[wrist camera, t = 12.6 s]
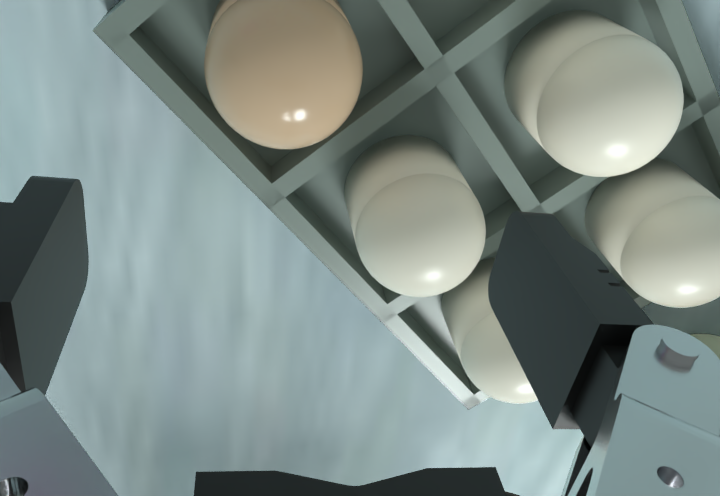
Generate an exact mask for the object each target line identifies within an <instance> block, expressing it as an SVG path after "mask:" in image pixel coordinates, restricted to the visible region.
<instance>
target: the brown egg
mask: <svg viewBox="0 0 720 496" xmlns="http://www.w3.org/2000/svg"><path fill="white" fill-rule="evenodd" d="M204 72H205V80H206V85H207V89H208V92H209V95H210V97H211V99H212V101H213V104H214V106H215V108H216V109H217V111H218V112H219V114H220V115H221V117H222V118H223V119H224V120H225V121H226V123H227V124H228V125H229V126H230V127H231V128H233V129H234V130H235V131H236V132H237V133H239V134H240V135H242V136H243V137H244V138H246V139H248V140H250V141H252V142H254V143H256V144H259V145H261V146H265V147H269V148H274V149H298V148H303V147H307V146H310V145H313V144H316V143H318V142H320V141H322V140H324V139H325V138H327V137H328V136H330V135H331V134H333V133H334V132H335V131H336V130H337V129H338V128H339V127H340V126H341V125H342V124H343V123H344V122H345V120H346V119H347V118H348V116H349V115H350V113H351V112H352V110H353V108H354V106H355V104H356V102H357V99H358V96H359V93H360V89H361V84H362V75H363V65H362V57H361V51H360V47H359V44H358V41H357V38H356V36H355V34H354V32H353V30H352V28H351V26H350V24H349V22H348V20H347V18H346V16H345V14H344V12H343V10H342V8H341V6H340V4H339V2H338V1H337V0H220V1H219V3H218V5H217V7H216V10H215V12H214V15H213V19H212V24H211V28H210V32H209V36H208V41H207V45H206V50H205V58H204Z"/></svg>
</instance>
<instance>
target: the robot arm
mask: <svg viewBox="0 0 720 496" xmlns="http://www.w3.org/2000/svg"><path fill="white" fill-rule="evenodd" d="M87 276H88V245H87V234H86V222H85V210H84V198H83V189H82V185H81V182H80V180H78V179H69V178H55V177H41V176H31V177H30V178H29V180H28V181H27V183H26V184H25V186H24V187H23V189H22V190H21V192H20V193H19V195H18V196H17V198H16V199H15V201H14V202H13V203H6V202H0V496H118V495H117V493H116V492H115V491H114V489H113V488H112V487H111V485H110V484H109V482H108V481H107V480H106V478H105V477H104V476H103V474H102V473H101V472H100V470H99V469H98V468H97V466H96V465H95V463H94V462H93V461H92V459H91V458H90V457H89V455H88V454H87V453H86V451H85V450H84V448H83V447H82V446H81V444H80V443H79V442H78V440H77V439H76V438H75V436H74V435H73V434H72V432H71V431H70V429H69V428H68V427H67V425H66V424H65V423H64V421H63V420H62V419H61V417H60V416H59V415H58V413H57V412H56V410H55V409H54V408H53V406H52V405H51V404H50V402H49V401H48V400H47V398H46V397H45V394H46V391H47V388H48V386H49V383H50V380H51V378H52V375H53V372H54V370H55V367H56V364H57V362H58V359H59V356H60V354H61V351H62V349H63V346H64V343H65V341H66V338H67V335H68V333H69V330H70V327H71V325H72V322H73V319H74V317H75V314H76V311H77V309H78V306H79V303H80V301H81V298H82V295H83V293H84V290H85V287H86V282H87ZM488 297H489V302H490V305H491V308H492V310H493V312H494V314H495V316H496V318H497V320H498V322H499V324H500V326H501V328H502V329H503V331H504V333H505V335H506V337H507V339H508V341H509V343H510V345H511V347H512V349H513V351H514V353H515V355H516V357H517V359H518V361H519V363H520V365H521V367H522V369H523V371H524V373H525V375H526V377H527V379H528V381H529V383H530V385H531V387H532V389H533V391H534V393H535V395H536V397H537V399H538V401H539V403H540V405H541V407H542V409H543V411H544V413H545V415H546V417H547V419H548V420H549V422H550V424H551V426H552V428H553V429H581V431H582V433H583V437H582V439H581V441H580V443H579V445H578V447H577V450H576V452H575V455H574V459H573V462H572V465H571V468H570V471H569V474H568V477H567V480H566V483H565V486H564V489H563V492H562V495H561V496H720V360H719V358H718V357H717V355H716V354H715V353H714V352H713V351H712V350H711V349H710V348H709V347H708V346H706V345H705V344H704V343H702V342H701V341H699V340H698V339H696V338H695V337H693V336H691V335H689V334H687V333H685V332H683V331H680V330H677V329H675V328H671V327H667V326H662V325H654V324H653V323H652V321H651V320H650V319H649V318H648V317H647V315H646V314H645V313H644V312H643V311H642V309H641V308H640V307H639V306H638V304H637V303H636V302H635V301H634V300H633V298H632V297H631V296H630V295H629V294H628V292H627V291H626V290H625V289H624V287H620V283H619V281H618V280H617V279H616V278H615V276H614V275H613V274H612V273H609V269H608V268H607V267H606V266H605V264H604V263H603V262H602V261H601V259H600V258H599V257H598V256H597V255H596V254H595V253H594V252H592V251H591V250H590V249H588V248H587V247H585V246H584V245H582V244H581V243H580V242H578V241H577V240H575V239H573V238H572V237H571V236H570V235H569V233H568V232H567V231H566V230H565V228H564V227H563V226H562V224H561V223H560V222H559V221H558V219H557V218H556V217H555V216H554V215H553V214H549V213H535V212H520V211H515V212H513V213H512V214H511V215H510V217H509V218H508V220H507V223H506V226H505V229H504V232H503V235H502V238H501V242H500V245H499V248H498V251H497V254H496V257H495V261H494V264H493V267H492V270H491V273H490V277H489V283H488ZM194 496H519V495H516V494H513V493H509V492H505V491H504V488H503V486H502V483H501V481H500V478H499V475H498V473H497V470H496V467H482V468H427V469H423V470H419V471H415V472H411V473H408V474H404V475H400V476H396V477H392V478H389V479H385V480H381V481H377V482H374V483H370V484H366V485H361V486H347V485H342V484H338V483H333V482H328V481H323V480H318V479H313V478H308V477H303V476H298V475H294V474H289V473H284V472H279V471H225V472H196V479H195V490H194Z"/></svg>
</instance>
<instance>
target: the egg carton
mask: <svg viewBox="0 0 720 496" xmlns="http://www.w3.org/2000/svg"><path fill="white" fill-rule="evenodd" d="M219 1H220V0H121V1H119V2H118V3H117V4H116V5H115V6H114V7H113V8H112V9H111V10H109V11H108V12H107V13H106V15H105V16H104V17H103V18H102V20H101V21H100V22H99V23H98V24H97V26H96V27H95V28H94V29H93V32H94V33H95V34H96V35H97V36H98V37H99V38H100V39H101V40H102V41H103V42H104V43H105V44H106V45H107V46H108V47H109V48H110V49H111V50H112V51H113V52H114V53H115V54H116V55H117V56H118V57H119V58H120V59H121V60H122V61H123V62H124V63H125V64H126V65H127V66H128V67H129V68H130V69H131V70H132V71H133V72H134V73H135V74H136V75H137V76H138V77H139V78H140V79H141V80H142V81H143V82H144V83H145V84H146V85H147V86H148V87H149V88H150V89H151V90H152V91H153V92H154V93H155V94H156V95H157V96H158V97H159V98H160V99H161V100H162V101H163V102H164V103H165V104H166V105H167V106H168V107H169V108H170V109H171V110H172V111H173V112H174V113H175V114H176V115H177V116H178V117H179V118H180V119H181V120H182V121H183V122H184V123H185V124H186V125H187V126H188V127H189V128H190V130H191V131H192V132H193V133H194V134H195V135H196V136H197V137H198V138H199V139H200V140H201V141H202V142H203V143H204V144H205V145H206V146H207V147H208V148H209V149H210V150H211V151H212V152H213V153H214V154H215V155H216V156H217V157H218V158H219V159H220V160H221V161H222V162H223V163H224V164H225V165H226V166H227V167H228V168H229V169H230V170H231V171H232V172H233V173H234V174H235V175H236V176H237V177H238V178H239V179H240V180H241V181H242V182H243V183H244V184H245V185H246V186H247V187H248V188H249V189H250V190H251V191H252V192H253V193H254V194H255V195H256V196H257V197H258V198H259V199H260V200H261V201H262V202H263V203H264V204H265V205H266V206H267V207H268V208H269V209H270V210H271V211H272V212H273V213H274V214H275V215H276V216H277V217H278V218H279V219H280V220H281V221H282V222H283V223H284V224H285V225H286V226H287V227H288V228H289V229H290V230H291V231H292V232H293V233H294V234H295V235H296V236H297V237H298V238H299V239H300V241H301V242H302V243H303V244H304V245H305V246H306V247H307V248H308V249H309V250H310V251H311V252H312V253H313V254H314V255H315V256H316V257H317V258H318V259H319V260H320V261H321V262H322V263H323V264H324V265H325V266H326V267H327V268H328V269H329V270H330V271H331V272H332V273H333V274H334V275H335V276H336V277H337V278H338V279H339V280H340V281H341V282H342V283H343V284H344V285H345V286H346V287H347V288H348V289H349V290H350V291H351V292H352V293H353V294H354V295H355V296H356V297H357V298H358V299H359V300H360V301H361V302H362V303H363V304H364V305H365V306H366V307H367V308H368V309H369V310H370V311H371V312H372V313H373V314H374V315H375V316H376V317H377V318H378V319H379V320H380V321H381V322H382V323H383V324H384V325H385V326H386V327H387V328H388V329H389V330H390V331H391V332H392V333H393V334H394V335H395V336H396V337H397V338H398V339H399V340H400V341H401V342H402V343H403V344H404V345H405V346H406V347H407V348H408V349H409V351H410V352H411V353H412V354H413V355H414V356H415V357H416V358H417V359H418V360H419V361H420V362H421V363H422V364H423V365H424V366H425V367H426V368H427V369H428V370H429V371H430V372H431V373H432V374H433V375H434V376H435V377H436V378H437V379H438V380H439V381H440V382H441V383H442V384H443V385H444V386H445V387H446V388H447V389H448V390H449V391H450V392H451V393H452V394H453V395H454V396H455V397H456V398H457V399H458V400H459V401H460V402H461V403H462V404H463V405H464V406H465V407H466V408H467V409H468V410H469V409H471V408H473V407H475V406H476V405H478V404H480V403H481V402H483V401H485V400H486V399H488V398H490V397H492V398H494V399H496V400H499V401H502V402H506V403H512V404H523V403H530V402H534V401H537V400H538V399H537V397H536V395H535V393H534V391H533V389H532V387H531V385H530V383H529V381H528V379H527V377H526V375H525V373H524V371H523V369H522V367H521V365H520V363H519V361H518V359H517V357H516V355H515V353H514V351H513V349H512V347H511V345H510V343H509V341H508V339H507V337H506V335H505V333H504V331H503V329H502V328H501V326H500V324H499V322H498V320H497V318H496V316H495V314H494V312H493V310H492V308H491V305H490V302H489V297H488V283H489V277H490V273H491V270H492V267H493V264H494V261H495V257H496V254H497V251H498V248H499V245H500V242H501V238H502V235H503V232H504V229H505V226H506V223H507V220H508V218H509V217H510V215H511V214H512V213H513V212H515V211H520V212H535V213H549V214H553V215H554V216H555V217H556V218H557V219H558V221H559V222H560V223H561V224H562V226H563V227H564V228H565V230H566V231H567V232H568V233H569V235H570V236H571V237H572V238H573V239H575V240H577V241H578V242H580V243H581V244H582V245H584V246H585V247H587V248H588V249H590V250H591V251H592V252H594V253H595V254H596V255H597V256H598V257H599V258H600V259H601V261H602V262H603V263H604V264H605V266H606V267H607V268H608V269H609V273H612V274H613V275H614V276H615V278H616V279H617V280H618V281H619V283H620V287H624V289H625V290H626V291H627V292H628V294H629V295H630V296H631V297H632V298H633V300H634V301H635V302H636V303H637V304H638V306H639V307H640V308H643V307H645V306H647V305H648V304H650V303H652V302H653V303H656V304H659V305H662V306H666V307H674V308H688V307H695V306H700V305H703V304H706V303H708V302H711V301H713V300H715V299H717V298H718V297H720V98H719V96H718V93H717V90H716V88H715V85H714V83H713V80H712V77H711V75H710V72H709V70H708V67H707V65H706V62H705V59H704V57H703V54H702V52H701V49H700V47H699V44H698V41H697V39H696V36H695V34H694V31H693V28H692V26H691V23H690V21H689V18H688V16H687V13H686V10H685V8H684V5H683V3H682V0H337V1H338V2H339V4H340V6H341V8H342V10H343V12H344V14H345V16H346V18H347V20H348V22H349V24H350V26H351V28H352V30H353V32H354V34H355V36H356V38H357V41H358V44H359V47H360V51H361V57H362V65H363V75H362V84H361V89H360V93H359V96H358V99H357V102H356V104H355V106H354V108H353V110H352V112H351V113H350V115H349V116H348V118H347V119H346V120H345V122H344V123H343V124H342V125H341V126H340V127H339V128H338V129H337V130H336V131H335V132H334V133H333V134H331V135H330V136H328V137H327V138H325V139H324V140H322V141H320V142H318V143H316V144H313V145H310V146H307V147H303V148H298V149H274V148H269V147H265V146H261V145H259V144H256V143H254V142H252V141H250V140H248V139H246V138H244V137H243V136H242V135H240V134H239V133H237V132H236V131H235V130H234V129H233V128H231V127H230V126H229V125H228V124H227V123H226V121H225V120H224V119H223V118H222V117H221V115H220V114H219V112H218V111H217V109H216V108H215V106H214V104H213V101H212V99H211V97H210V95H209V92H208V89H207V85H206V80H205V72H204V58H205V50H206V45H207V41H208V36H209V32H210V28H211V24H212V19H213V15H214V12H215V10H216V7H217V5H218V3H219Z"/></svg>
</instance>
